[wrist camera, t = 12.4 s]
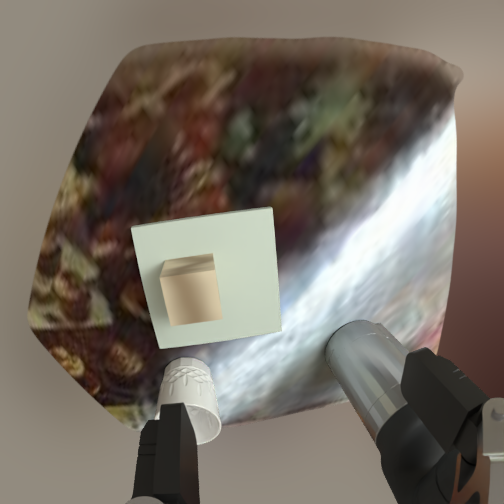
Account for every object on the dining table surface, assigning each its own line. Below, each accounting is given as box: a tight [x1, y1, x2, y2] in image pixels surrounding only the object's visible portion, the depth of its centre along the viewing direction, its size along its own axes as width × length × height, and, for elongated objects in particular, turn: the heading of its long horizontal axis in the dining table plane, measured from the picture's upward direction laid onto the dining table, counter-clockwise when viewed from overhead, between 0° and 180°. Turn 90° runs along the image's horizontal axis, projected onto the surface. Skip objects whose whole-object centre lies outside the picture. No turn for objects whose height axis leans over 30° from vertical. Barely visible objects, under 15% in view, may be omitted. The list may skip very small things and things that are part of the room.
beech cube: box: [160, 253, 223, 326], centre depth 34 cm, size 6×6×6 cm
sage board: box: [131, 207, 282, 349], centre depth 37 cm, size 16×16×1 cm
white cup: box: [154, 357, 221, 445], centre depth 36 cm, size 8×8×10 cm
